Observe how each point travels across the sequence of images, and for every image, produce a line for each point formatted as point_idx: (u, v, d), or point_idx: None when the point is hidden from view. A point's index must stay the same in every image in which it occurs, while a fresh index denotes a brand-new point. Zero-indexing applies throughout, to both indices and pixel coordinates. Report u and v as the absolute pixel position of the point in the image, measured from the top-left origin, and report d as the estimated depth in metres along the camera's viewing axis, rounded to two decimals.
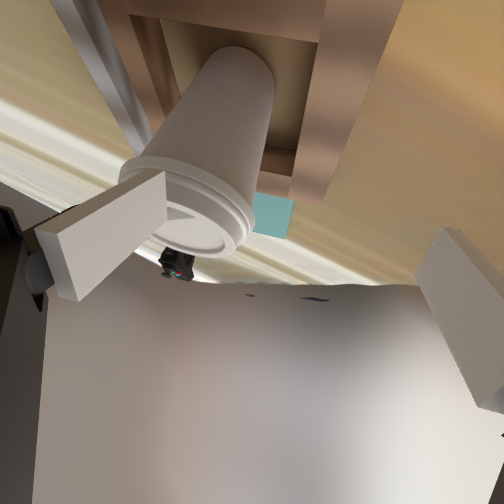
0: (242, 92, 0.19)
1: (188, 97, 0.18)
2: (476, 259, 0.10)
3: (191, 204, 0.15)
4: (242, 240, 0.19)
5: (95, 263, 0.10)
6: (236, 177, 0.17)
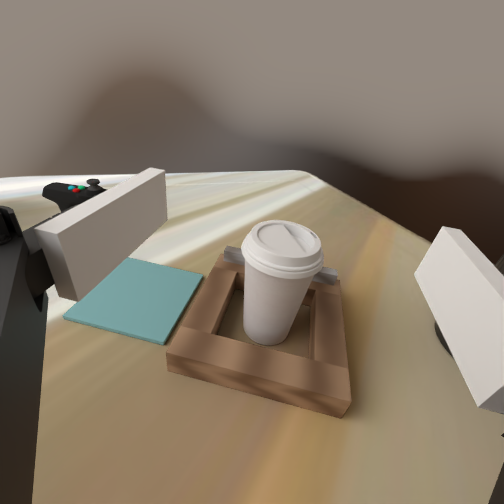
0: (294, 317, 0.34)
1: None
2: (476, 259, 0.10)
3: (317, 253, 0.29)
4: (268, 262, 0.27)
5: (95, 263, 0.10)
6: (301, 283, 0.29)
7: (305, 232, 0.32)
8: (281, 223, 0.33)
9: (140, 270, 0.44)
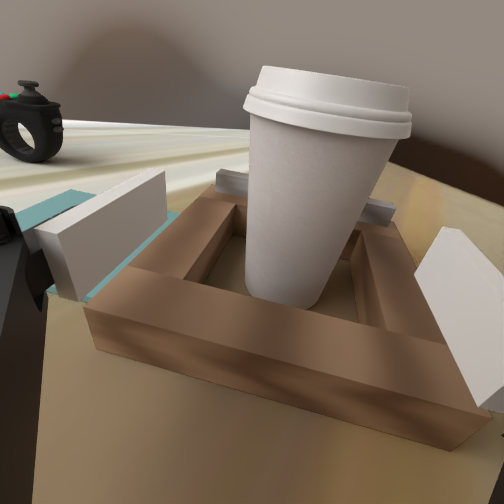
0: (338, 256, 0.19)
1: None
2: (476, 259, 0.10)
3: (408, 94, 0.13)
4: (305, 98, 0.12)
5: (95, 263, 0.10)
6: (370, 162, 0.14)
7: None
8: None
9: None
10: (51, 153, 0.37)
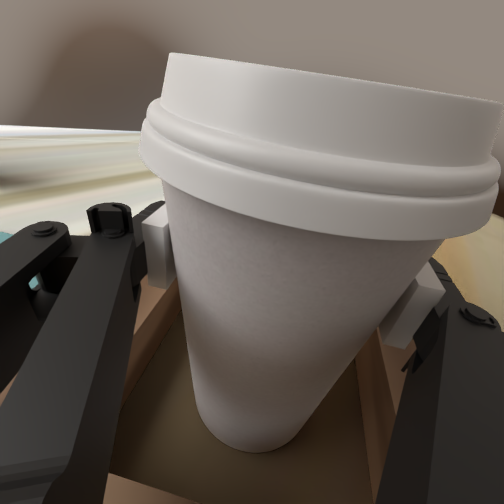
0: None
1: None
2: None
3: (500, 118, 0.06)
4: (242, 138, 0.04)
5: None
6: (407, 270, 0.06)
7: None
8: None
9: None
10: None
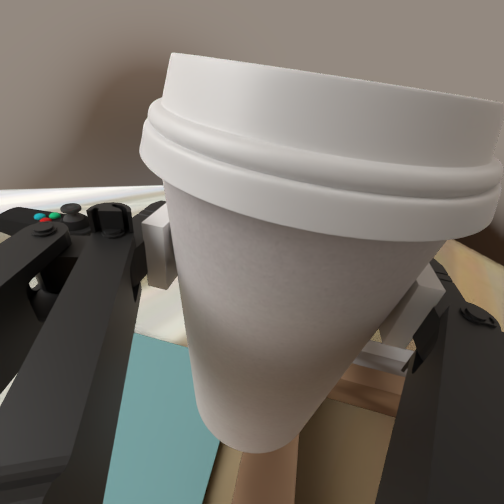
0: (336, 382, 0.11)
1: None
2: None
3: (503, 119, 0.06)
4: (244, 138, 0.04)
5: None
6: (409, 271, 0.06)
7: None
8: None
9: (141, 357, 0.27)
10: None
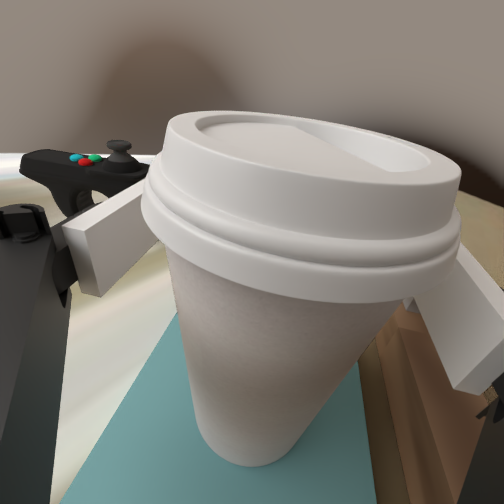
0: None
1: None
2: None
3: (458, 185, 0.06)
4: (230, 217, 0.05)
5: (116, 260, 0.10)
6: (380, 315, 0.07)
7: (369, 141, 0.10)
8: (289, 120, 0.11)
9: None
10: None
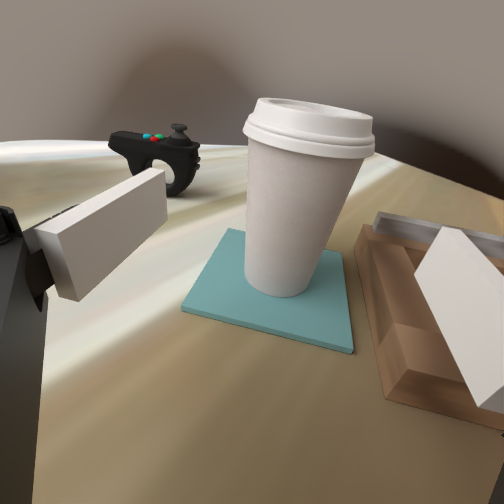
0: (321, 250, 0.23)
1: None
2: (476, 259, 0.10)
3: (370, 123, 0.17)
4: (290, 129, 0.16)
5: (95, 263, 0.10)
6: (342, 175, 0.18)
7: (342, 113, 0.21)
8: (304, 103, 0.22)
9: None
10: (185, 188, 0.40)
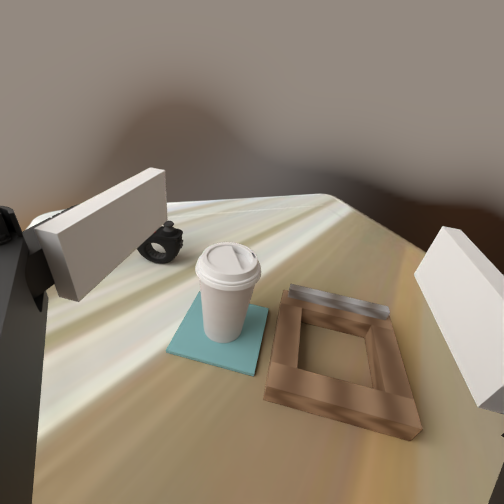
0: (241, 320, 0.42)
1: None
2: (476, 259, 0.10)
3: (252, 271, 0.37)
4: (212, 278, 0.36)
5: (95, 263, 0.10)
6: (240, 293, 0.37)
7: (248, 253, 0.40)
8: (230, 245, 0.41)
9: None
10: (173, 258, 0.59)
